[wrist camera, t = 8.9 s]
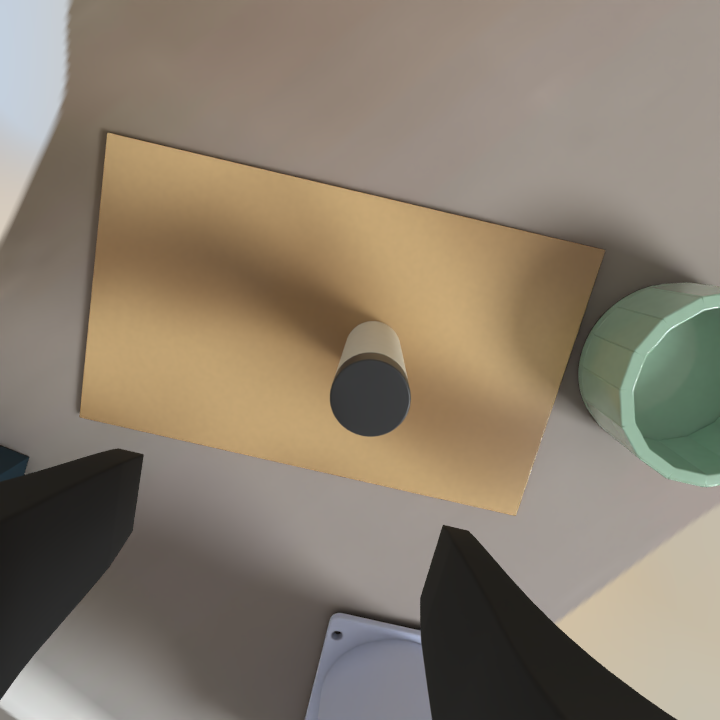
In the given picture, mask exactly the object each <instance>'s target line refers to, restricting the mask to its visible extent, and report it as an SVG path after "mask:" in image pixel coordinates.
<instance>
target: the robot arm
mask: <svg viewBox="0 0 720 720" xmlns="http://www.w3.org/2000/svg"><path fill="white" fill-rule="evenodd" d="M143 455H144V454H139V453H135V452H131V451H127V450H122V449H113V450H108V451H104V452H101V453H97V454H94V455H90V456H87V457H83V458H80V459H77V460H74V461H70V462H67V463H64V464H61V465H57V466H54V467H51V468H47V469H44V470H41V471H38V472H34V473H31V474H27V475H23V476H19V477H16V478H12V479H8V480H4V481H1V482H0V700H1V698H2V697H3V695H4V694H5V693H6V691H7V690H8V688H9V687H10V686H11V684H12V683H13V681H14V680H15V679H16V677H17V676H18V675H19V673H20V672H21V671H22V669H23V668H24V667H25V666H26V664H27V663H28V662H29V661H30V659H31V658H32V657H33V656H34V654H35V653H36V652H37V651H38V650H39V648H40V647H41V646H42V645H43V644H44V643H45V641H46V640H47V639H48V638H49V637H50V636H51V635H52V633H53V632H54V631H55V630H56V629H57V628H58V626H59V625H60V624H61V623H62V622H63V621H64V619H65V618H66V617H67V616H68V615H69V614H70V613H71V611H72V610H73V609H74V608H75V607H76V606H77V604H78V603H79V602H80V601H81V600H82V599H83V597H84V596H85V595H86V594H87V593H88V592H89V590H90V589H91V588H92V587H93V586H94V584H95V583H96V582H97V581H98V580H99V579H100V577H101V576H102V575H103V574H104V573H105V571H106V570H107V569H108V568H109V566H110V565H111V563H112V562H113V560H114V559H115V557H116V556H117V554H118V553H119V551H120V550H121V548H122V547H123V545H124V544H125V542H126V540H127V539H128V537H129V536H130V534H131V533H132V531H133V524H134V517H135V510H136V503H137V497H138V490H139V483H140V476H141V469H142V462H143ZM420 623H421V631H420V630H416V629H411V628H407V627H402V626H398V625H393V624H389V623H384V622H380V621H375V620H371V619H366V618H362V617H357V616H353V615H348V614H344V613H336V614H334V615H332V616H331V618H330V621H329V625H328V629H327V633H326V637H325V641H324V645H323V649H322V653H321V657H320V660H319V664H318V668H317V672H316V676H315V680H314V684H313V688H312V692H311V696H310V700H309V704H308V708H307V712H306V716H305V720H677V719H675V718H673V717H672V716H671V715H669V714H667V713H666V712H664V711H663V710H662V709H660V708H659V707H657V706H656V705H655V704H653V703H652V702H650V701H649V700H647V699H646V698H644V697H643V696H642V695H640V694H639V693H638V692H636V691H635V690H634V689H632V688H631V687H629V686H628V685H627V684H626V683H624V682H623V681H622V680H620V679H619V678H618V677H616V676H615V675H614V674H612V673H611V672H610V671H608V670H607V669H606V668H605V667H603V666H602V665H601V664H600V663H598V662H597V661H596V660H595V659H594V658H592V657H591V656H590V655H589V654H588V653H587V652H585V651H584V650H583V649H582V648H581V647H580V646H578V645H577V644H576V643H575V642H574V641H573V640H572V639H570V638H569V637H568V636H567V635H566V634H565V633H564V632H563V631H562V630H560V629H559V628H558V627H557V626H556V625H555V624H554V623H553V622H552V621H551V620H550V619H549V618H548V617H547V616H546V615H545V614H544V613H543V612H542V611H541V610H540V609H539V608H538V607H537V606H536V605H535V604H534V603H533V602H532V601H531V600H530V599H529V598H528V597H527V596H526V594H525V593H524V592H523V591H522V590H521V589H520V588H519V587H518V586H517V585H516V584H515V583H514V581H513V580H512V579H511V578H510V577H509V576H508V575H507V574H506V572H505V571H504V570H503V569H502V568H501V567H500V566H499V564H498V563H497V562H496V561H495V560H494V559H493V558H492V556H491V555H490V554H489V553H488V552H487V551H486V549H485V548H484V547H483V546H482V545H481V544H480V543H479V541H478V540H477V539H476V538H475V537H474V536H473V535H472V534H471V533H470V532H469V531H467V530H462V529H458V528H454V527H450V526H445V525H443V527H442V530H441V533H440V536H439V540H438V543H437V546H436V549H435V552H434V556H433V559H432V562H431V565H430V569H429V572H428V575H427V578H426V581H425V585H424V588H423V591H422V594H421V598H420ZM335 631H339V632H341V633H340V634H336V633H334V632H335Z"/></svg>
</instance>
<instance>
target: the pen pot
mask: <svg viewBox="0 0 720 720" xmlns="http://www.w3.org/2000/svg"><path fill="white" fill-rule="evenodd" d="M578 380H579V387H580V392H581V395H582V399H583V401H584V403H585V405H586V408H587V409H588V411H589V412H590V414H591V416H592V417H593V418H594V419H595V420H596V421H597V423H598V424H599V425H600V427H601V428H603V429H604V430H605V431H606V432H607V433H609V434H610V435H611V436H612V437H613V438H615V439H616V440H617V441H618V442H619V443H621V444H622V445H623V446H624V447H626V448H627V449H628V450H629V451H630V452H632V453H633V454H634V455H635V456H636V457H638V458H639V459H640V460H642V461H643V462H644V463H646V464H647V465H648V466H650V467H651V468H653V469H654V470H655V471H657V472H658V473H659V474H661V475H662V476H664V477H665V478H668V479H670V480H674V481H679V482H683V483H687V484H692V485H696V486H701V487H711V486H719V485H720V286H712V285H704V284H696V283H689V282H687V283H686V282H683V283H666V284H658V285H654V286H650V287H647V288H644V289H641V290H638V291H636V292H634V293H632V294H630V295H628V296H626V297H625V298H623V299H622V300H620V301H619V302H617V303H616V304H615V305H613V306H612V307H611V308H610V309H609V310H607V312H606V313H605V314H604V315H603V316H602V317H601V318H600V319H599V320H598V322H597V323H596V324H595V326H594V327H593V328H592V330H591V332H590V334H589V335H588V337H587V339H586V342H585V344H584V346H583V349H582V353H581V356H580V362H579V369H578Z"/></svg>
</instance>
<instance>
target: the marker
mask: <svg viewBox="0 0 720 720" xmlns="http://www.w3.org/2000/svg"><path fill="white" fill-rule="evenodd" d="M410 404H411V392H410V388H409V383H408V378H407V373H406V369H405V364H404V359H403V355H402V350H401V345H400V341H399V338H398V336H397V334H396V333H395V331H394V330H393V329H392V328H391V327H390V326H388V325H386V324H384V323H382V322H378V321H368V322H364V323H362V324H360V325H358V326H356V327H355V328H354V329H353V330H352V331H351V332H350V334H349V336H348V338H347V341H346V344H345V347H344V350H343V353H342V356H341V359H340V362H339V365H338V368H337V371H336V374H335V377H334V380H333V383H332V386H331V389H330V406H331V409H332V412H333V414H334V416H335V418H336V419H337V421H338V422H339V423H340V424H341V425H342V426H343V427H344V428H346V429H347V430H349V431H350V432H352V433H354V434H357V435H360V436H366V437H374V436H381V435H384V434H387V433H389V432H391V431H393V430H394V429H396V428H397V427H398V426H399V425H400V424H401V423H402V422H403V420H404V419H405V418H406V416H407V414H408V411H409V408H410Z"/></svg>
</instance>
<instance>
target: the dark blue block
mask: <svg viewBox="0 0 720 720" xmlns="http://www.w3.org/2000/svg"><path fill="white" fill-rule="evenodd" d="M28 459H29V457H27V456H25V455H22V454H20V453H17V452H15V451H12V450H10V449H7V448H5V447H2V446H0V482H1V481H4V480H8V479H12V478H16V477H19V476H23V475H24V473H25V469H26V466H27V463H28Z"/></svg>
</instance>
